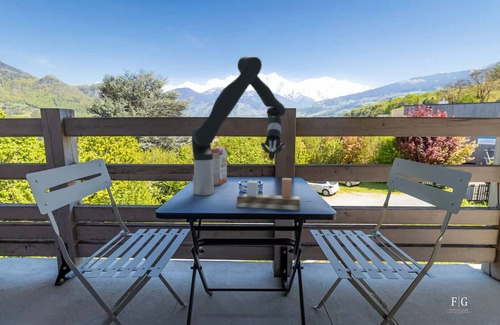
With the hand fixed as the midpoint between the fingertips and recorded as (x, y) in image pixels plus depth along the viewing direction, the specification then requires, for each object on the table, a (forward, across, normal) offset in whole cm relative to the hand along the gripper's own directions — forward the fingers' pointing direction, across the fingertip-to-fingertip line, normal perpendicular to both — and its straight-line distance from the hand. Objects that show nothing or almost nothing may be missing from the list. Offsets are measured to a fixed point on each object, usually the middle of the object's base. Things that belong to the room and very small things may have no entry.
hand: (271, 158), depth 137 cm
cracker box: (+2, -32, +22) cm, 39 cm away
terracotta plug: (+21, +8, 0) cm, 23 cm away
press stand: (+26, +1, -3) cm, 26 cm away
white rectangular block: (+27, -6, -6) cm, 28 cm away
